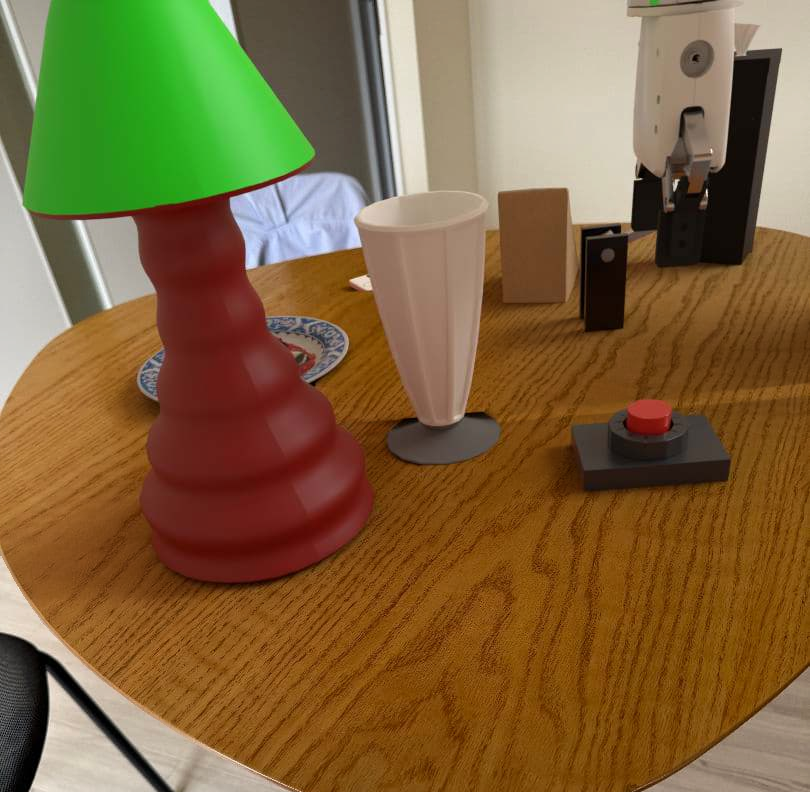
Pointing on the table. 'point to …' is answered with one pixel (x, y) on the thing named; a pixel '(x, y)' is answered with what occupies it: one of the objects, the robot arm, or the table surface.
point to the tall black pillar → (741, 153)
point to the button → (648, 417)
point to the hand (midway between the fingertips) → (662, 246)
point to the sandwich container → (536, 245)
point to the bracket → (602, 277)
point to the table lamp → (197, 279)
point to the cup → (431, 316)
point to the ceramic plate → (303, 336)
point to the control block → (648, 454)
